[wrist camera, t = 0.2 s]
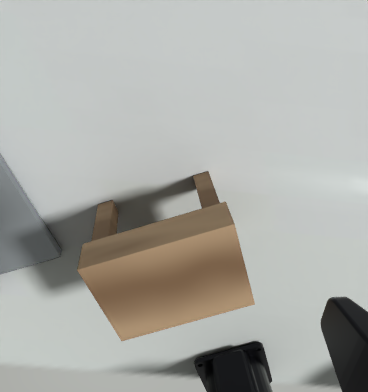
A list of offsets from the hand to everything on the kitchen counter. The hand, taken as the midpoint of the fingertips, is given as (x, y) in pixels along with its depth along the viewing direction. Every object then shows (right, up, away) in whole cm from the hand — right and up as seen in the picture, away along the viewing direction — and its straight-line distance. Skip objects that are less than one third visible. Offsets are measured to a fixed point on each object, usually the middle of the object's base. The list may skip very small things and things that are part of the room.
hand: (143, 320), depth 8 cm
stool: (0, +1, +16) cm, 16 cm away
